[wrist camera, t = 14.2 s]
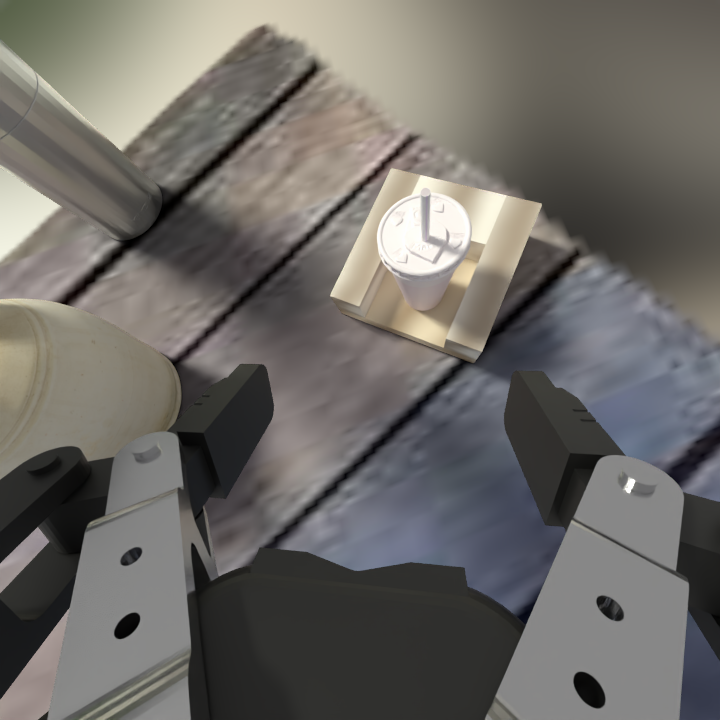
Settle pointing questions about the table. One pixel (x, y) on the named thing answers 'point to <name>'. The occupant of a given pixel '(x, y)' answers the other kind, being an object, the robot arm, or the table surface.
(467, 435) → the table surface
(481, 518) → the table surface
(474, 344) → the notched board
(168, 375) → the jug
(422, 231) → the white cup with straw
